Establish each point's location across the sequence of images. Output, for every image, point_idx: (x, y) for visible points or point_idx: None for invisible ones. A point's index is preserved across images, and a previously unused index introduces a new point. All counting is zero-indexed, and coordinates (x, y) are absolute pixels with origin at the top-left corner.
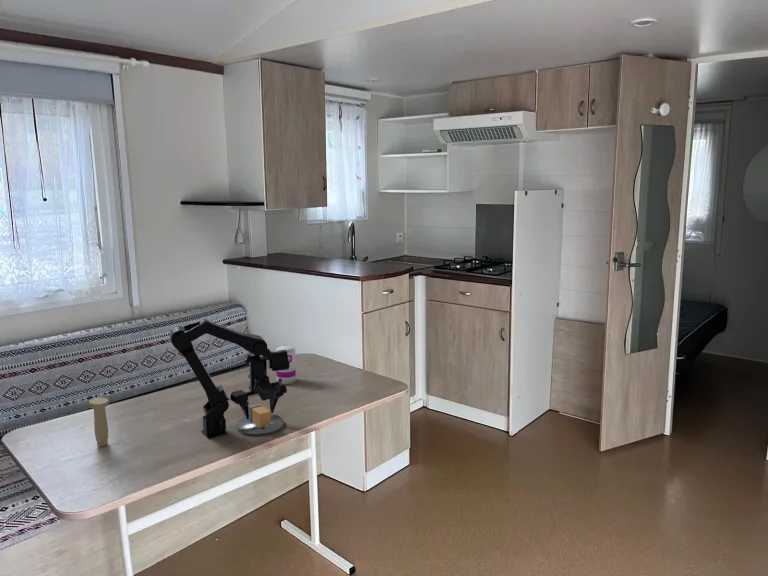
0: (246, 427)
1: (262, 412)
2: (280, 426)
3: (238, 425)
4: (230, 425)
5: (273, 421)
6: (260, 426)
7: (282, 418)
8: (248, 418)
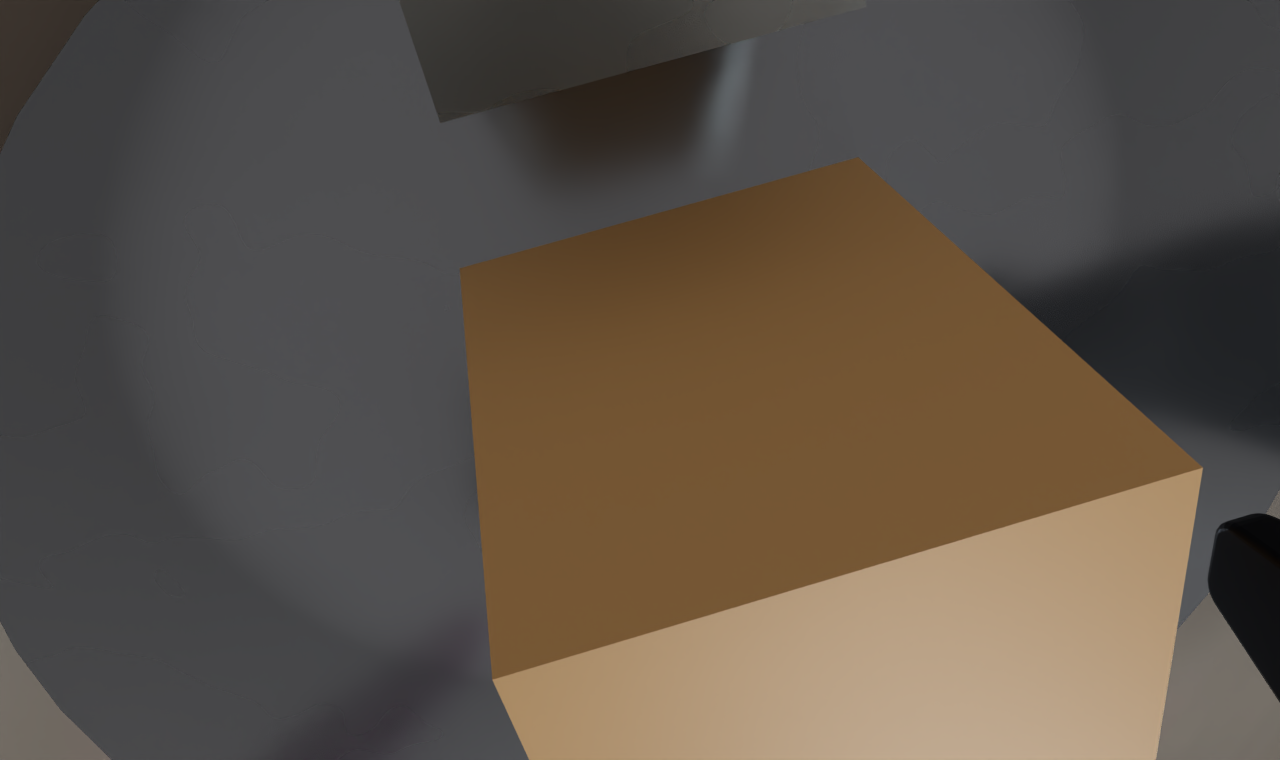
0: (1161, 330)
1: (954, 626)
2: (74, 39)
3: (1240, 495)
4: (1210, 619)
5: (325, 498)
6: (855, 184)
7: (4, 625)
8: (1255, 536)
